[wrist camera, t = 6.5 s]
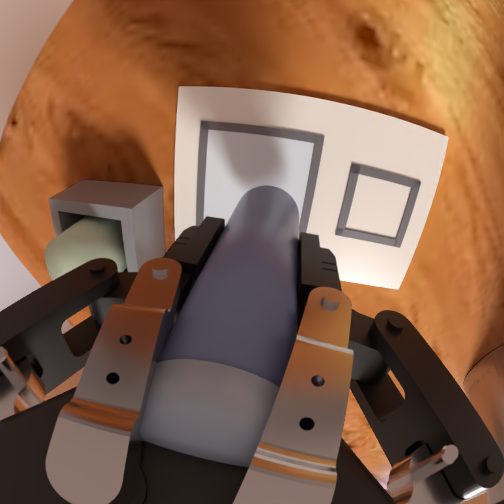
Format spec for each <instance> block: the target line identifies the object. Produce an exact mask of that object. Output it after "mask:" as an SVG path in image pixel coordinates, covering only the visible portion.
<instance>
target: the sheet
mask: <svg viewBox="0 0 504 504" xmlns="http://www.w3.org/2000/svg"><path fill="white" fill-rule="evenodd" d="M448 139H449V137H447V136H445V135H442V134H440V133H437V132H435V131H432V130H429V129H427V128H424V127H421V126H419V125H416V124H413V123H410V122H407V121H404V120H401V119H398V118H395V117H391V116H388V115H385V114H381V113H378V112H374V111H371V110H367V109H363V108H359V107H355V106H351V105H347V104H343V103H338V102H334V101H329V100H324V99H319V98H313V97H307V96H302V95H295V94H289V93H281V92H273V91H265V90H255V89H244V88H229V87H203V86H179V91H178V104H177V120H176V139H175V173H174V220H175V241H176V239H177V238H179V235H180V234H181V233H182V232H183V230H185V229H187V228H189V227H191V226H200V224H201V223H202V222H203V220H204V219H205V218H206V216H210V217H216V218H222V219H225V226H226V224H227V222H228V220H229V219H230V217H231V215H232V213H233V211H234V210H235V208H236V206H237V204H238V202H239V201H240V199H241V198H242V196H243V195H244V194H245V193H246V192H247V191H249V190H251V189H252V188H255V187H258V186H264V185H269V186H275V187H278V188H281V189H282V190H284V191H286V192H287V193H288V194H289V195H291V197H292V198H293V199H294V201H295V202H296V204H297V207H298V211H299V236H300V233H301V232H305V233H310V234H316V235H319V242H320V247H322V248H327V249H330V251H331V252H332V253H333V254H334V255H335V257H336V262H337V268H338V273H339V278H340V280H342V281H348V282H354V283H360V284H366V285H372V286H379V287H385V288H391V289H399V287H400V285H401V283H402V281H403V278H404V276H405V274H406V271H407V269H408V267H409V264H410V262H411V259H412V257H413V254H414V252H415V249H416V247H417V244H418V242H419V239H420V236H421V234H422V231H423V228H424V225H425V222H426V219H427V216H428V213H429V210H430V207H431V204H432V201H433V198H434V194H435V191H436V188H437V184H438V180H439V177H440V173H441V169H442V165H443V161H444V157H445V153H446V148H447V144H448Z"/></svg>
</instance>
